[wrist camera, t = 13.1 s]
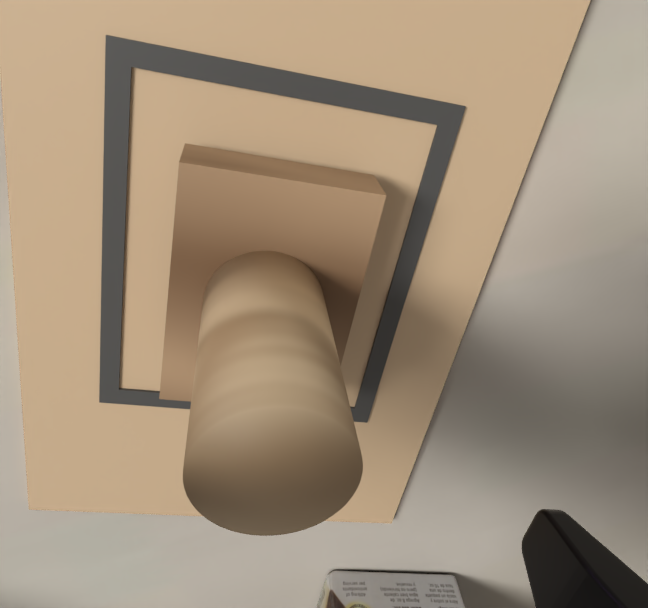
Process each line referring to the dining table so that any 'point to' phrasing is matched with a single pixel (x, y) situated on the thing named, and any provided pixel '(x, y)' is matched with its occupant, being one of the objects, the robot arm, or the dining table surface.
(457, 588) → the coffee box
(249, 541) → the dining table surface
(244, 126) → the stamp board
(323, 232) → the stamp
